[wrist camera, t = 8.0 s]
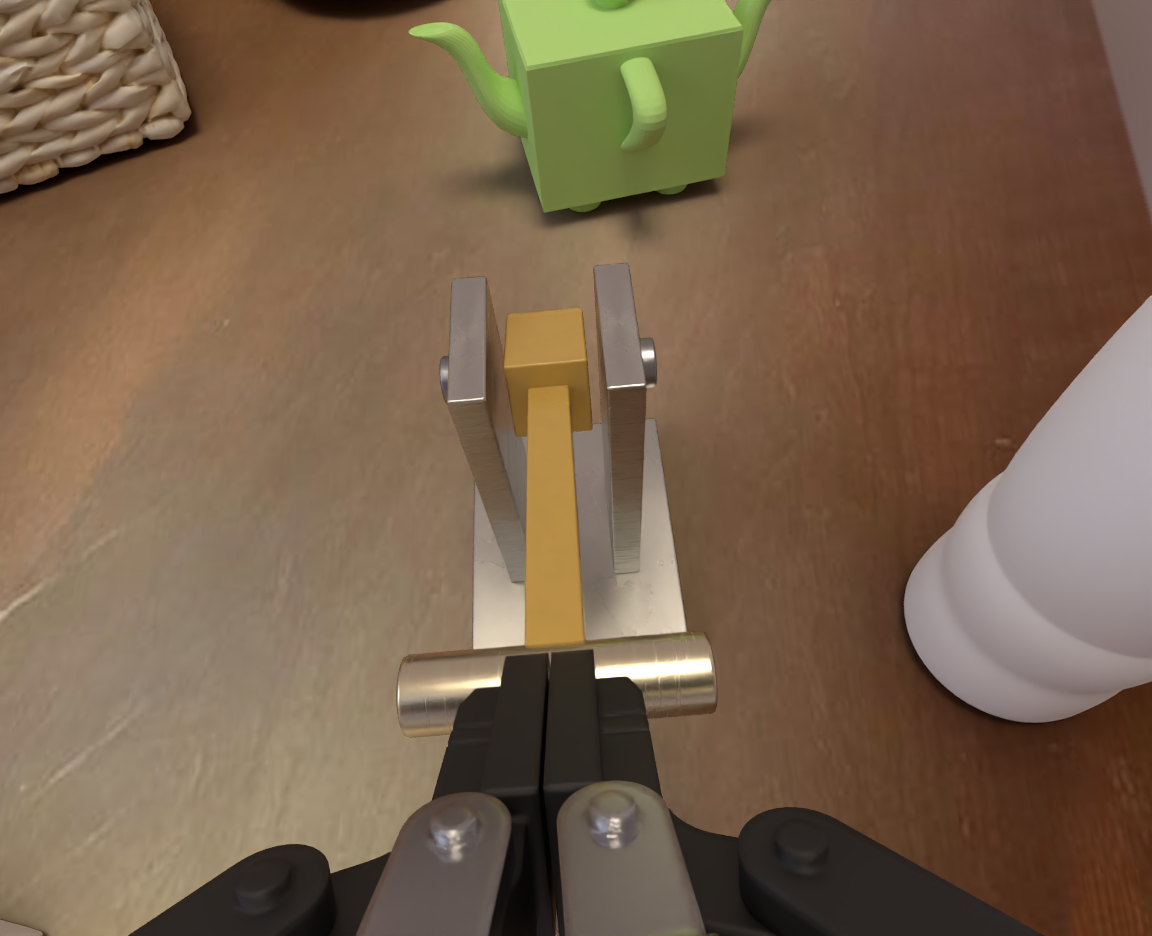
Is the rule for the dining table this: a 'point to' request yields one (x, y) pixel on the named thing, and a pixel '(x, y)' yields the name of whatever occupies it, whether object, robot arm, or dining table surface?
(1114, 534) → the water bottle
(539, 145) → the teapot
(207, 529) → the dining table surface
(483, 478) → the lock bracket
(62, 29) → the basket
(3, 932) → the milk carton
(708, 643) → the lever
